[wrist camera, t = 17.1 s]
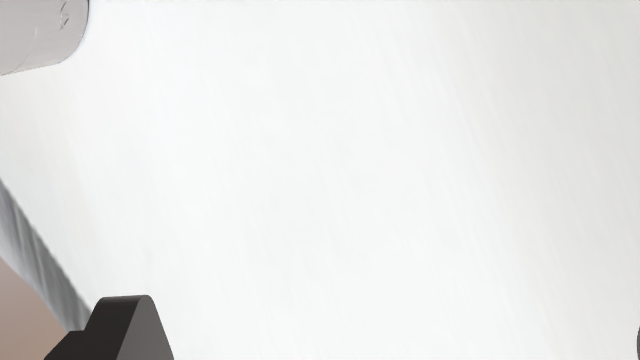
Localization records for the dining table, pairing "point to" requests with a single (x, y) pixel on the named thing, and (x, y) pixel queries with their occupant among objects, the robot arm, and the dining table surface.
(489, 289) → the dining table surface
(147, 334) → the robot arm
